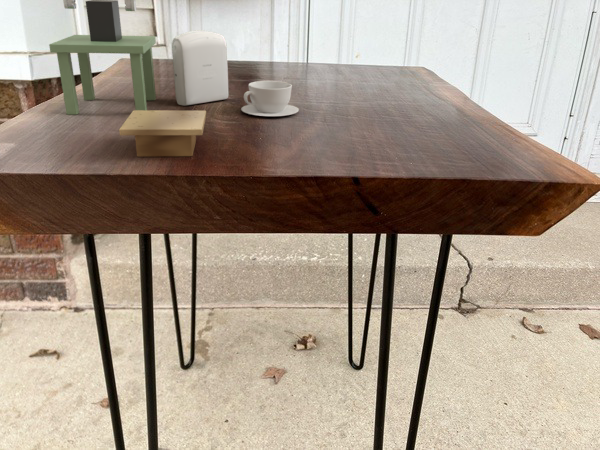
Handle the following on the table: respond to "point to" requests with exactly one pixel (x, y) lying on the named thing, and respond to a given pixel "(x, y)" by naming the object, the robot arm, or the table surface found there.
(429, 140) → the table surface
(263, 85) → the teacup
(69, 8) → the robot arm
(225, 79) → the photo printer
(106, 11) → the black block
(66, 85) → the high shelf
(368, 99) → the table surface
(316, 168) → the table surface
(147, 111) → the low shelf
